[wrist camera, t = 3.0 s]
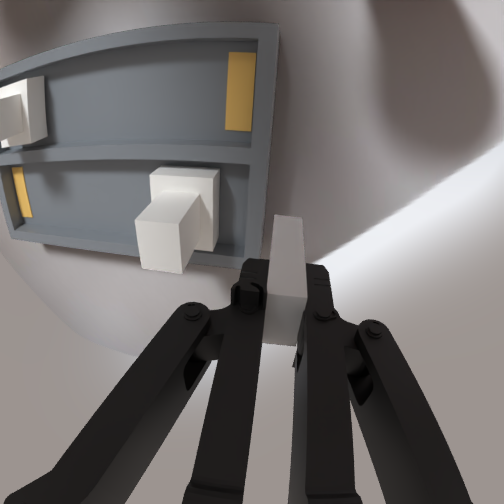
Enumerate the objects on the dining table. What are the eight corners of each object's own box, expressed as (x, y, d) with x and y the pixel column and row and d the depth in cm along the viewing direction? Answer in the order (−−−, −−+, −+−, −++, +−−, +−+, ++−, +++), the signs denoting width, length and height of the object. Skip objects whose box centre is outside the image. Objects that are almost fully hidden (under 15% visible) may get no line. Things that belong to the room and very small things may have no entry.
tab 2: (161, 165, 19) (118, 201, 14) (219, 168, 19) (194, 206, 14) (165, 231, 22) (132, 280, 17) (218, 236, 22) (197, 290, 17)
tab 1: (13, 85, 16) (-41, 100, 11) (44, 75, 16) (-14, 88, 11) (17, 140, 19) (-33, 165, 14) (47, 136, 18) (-7, 161, 13)
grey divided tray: (11, 70, 17) (-16, 76, 14) (279, 32, 16) (278, 23, 13) (31, 221, 26) (11, 238, 23) (261, 245, 24) (257, 271, 21)
